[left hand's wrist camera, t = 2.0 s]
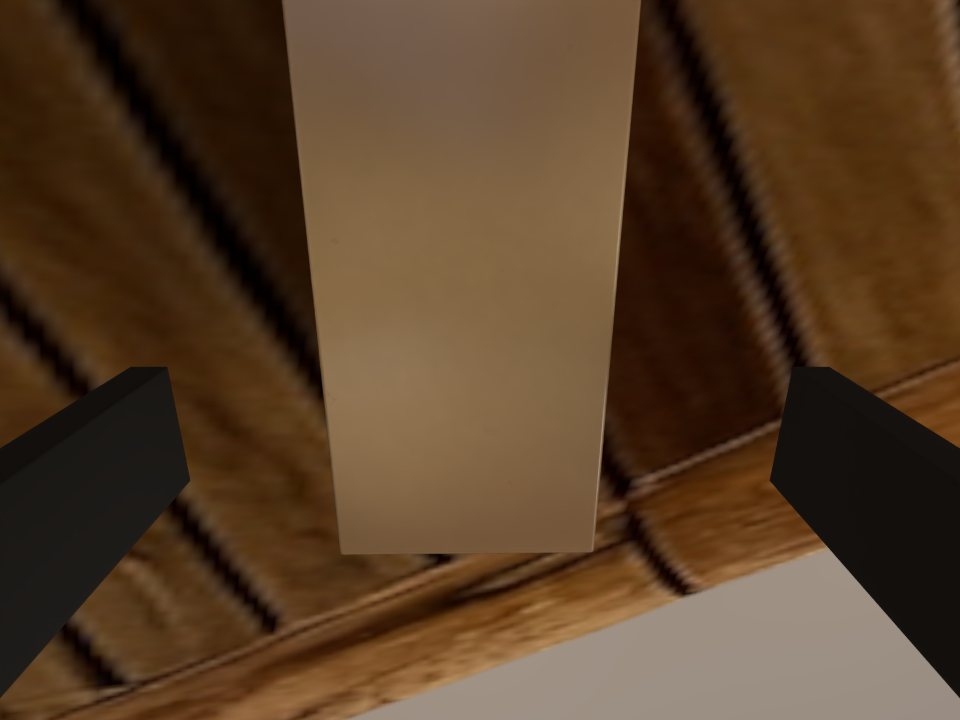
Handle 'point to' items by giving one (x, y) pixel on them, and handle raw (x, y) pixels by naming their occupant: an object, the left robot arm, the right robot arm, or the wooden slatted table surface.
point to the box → (463, 260)
